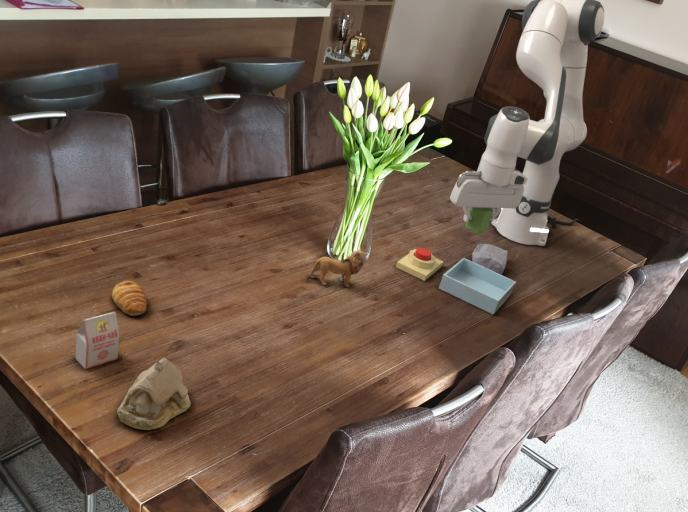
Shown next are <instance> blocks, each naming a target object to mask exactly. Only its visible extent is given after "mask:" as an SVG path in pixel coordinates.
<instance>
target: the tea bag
mask: <svg viewBox="0 0 688 512" xmlns="http://www.w3.org/2000/svg"><path fill="white" fill-rule="evenodd" d="M75 337H76V338H75V360H76V361H77V362H78V363H79V364H80V365H81V366H82V367H83V368H84V369H85V370H87V369H90V368H94V367H97V366H100V365H104V364H107V363H110V362H113V361H116V360H118V358H119V344H120V330H119V324H118V317H117V312H116V311H112V312H108V313H105V314H104V313H103V314H100V315H97V316H92V317H89V318H86V319H85V318H84V319H81V323H80V325H79V328H78V329H77V331H76V335H75Z"/></svg>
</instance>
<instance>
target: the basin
mask: <svg viewBox="0 0 688 512" xmlns="http://www.w3.org/2000/svg"><path fill="white" fill-rule="evenodd" d="M516 284H517V281H515V280H513V279H511V278H509V277H506V275H505V276H504V275H502V274H498V273H496V272H494V271H492V270H489V269H487V268H485V267H483V266H481V265H479V264H476V263H474V262H472V260H470V259H467V258H465V257H462V258H461V259H460V260H459V261H458V262H456V263H455V264H454V265H453V266H451V267H450V269H448V270H447V271H446V272H444V273H443V274H442V277H441V280H440V282H439V285H438V289H439V290H441V291H443V292H446V293H447V294H450V295H451V296H453V297H456V298H458V299H460V300H461V301H464V302H466V303H468V304H470V305H472V306H474V307H477V308H478V309H481V310H483V311H484V312H487V313H489V314H490V315H494V314H495V313H496V312H498V310H499V309H500V308H501V307H502V305H503V304H504V303H505V302H506V301H507V300H508V299H509V298H510V297H511V296H512V294H513V291H514V289H515V286H516Z"/></svg>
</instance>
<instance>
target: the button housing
mask: <svg viewBox="0 0 688 512" xmlns="http://www.w3.org/2000/svg"><path fill="white" fill-rule="evenodd" d="M416 249H417V248H413V249H411V250H410V251H409V252H408V254H406V255H404V256H403V257H402V258H400V259H399V260H398V261H397V262H396V264H395V268H397V269H399V270H401V271H403V272H405V273H407V274H409V275H411V276H413V277H416V278H418V279H420V280H422V281H424V282H425V281H427V279H429V278H430V277H432V276H433V275H434V274H435V273H436V272H437V271H439V270H440V269H441V268H442V267H443V265H444V261H443V260H441V259H438V258H437V257H435V255H433V254H432V255H431V258H430V260H429V261H423V260H420V259H418V258H416V257H415V252H416Z"/></svg>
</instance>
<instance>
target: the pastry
mask: <svg viewBox="0 0 688 512" xmlns="http://www.w3.org/2000/svg"><path fill="white" fill-rule="evenodd" d="M111 293H112V294H111V298H112V300H113V302H114V304H115V305H116V306H117V308H119V309H120V310H121V311H122V312H123V313H125V314H127V315H128V316H132V317H133V316H139V315H142V314H144V313H145V312H146V310H147V305H148V303H147V299H148V298H147V295H146V293H145V290H144V288H143V287H142V286H141V285H138V284H137V282H136V281H132V280H124V281H122V282H118V284H116V285H115V286H113V288H112V291H111Z"/></svg>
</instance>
